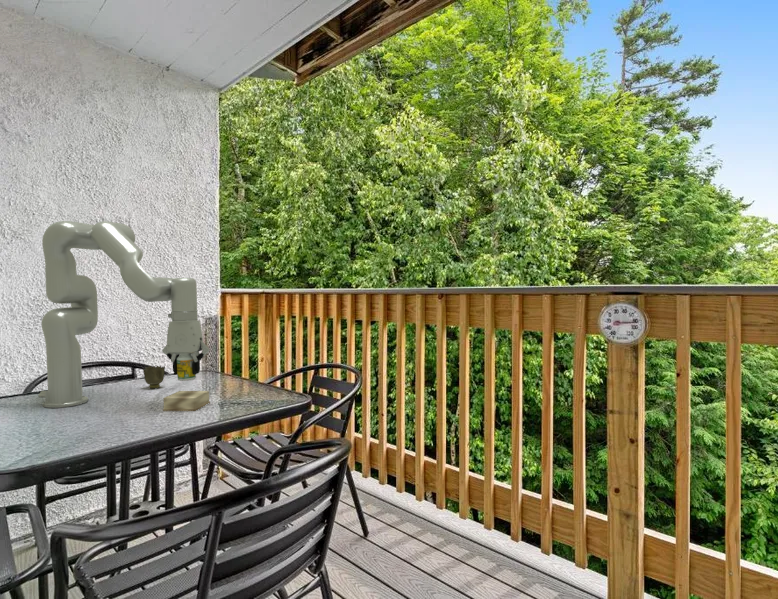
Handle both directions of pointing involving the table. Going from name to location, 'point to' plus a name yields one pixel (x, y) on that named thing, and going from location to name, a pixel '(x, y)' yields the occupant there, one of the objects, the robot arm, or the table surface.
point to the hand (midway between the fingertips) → (186, 373)
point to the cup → (154, 376)
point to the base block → (186, 401)
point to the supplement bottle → (185, 367)
